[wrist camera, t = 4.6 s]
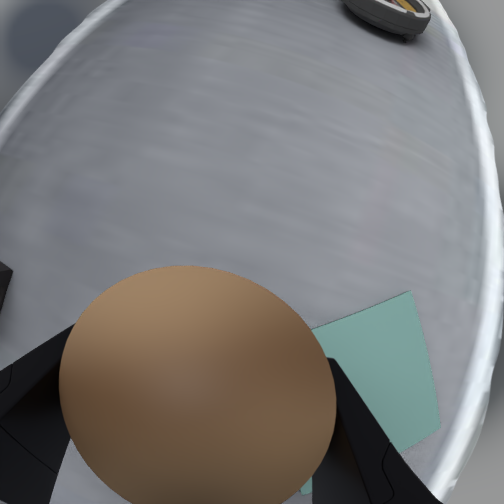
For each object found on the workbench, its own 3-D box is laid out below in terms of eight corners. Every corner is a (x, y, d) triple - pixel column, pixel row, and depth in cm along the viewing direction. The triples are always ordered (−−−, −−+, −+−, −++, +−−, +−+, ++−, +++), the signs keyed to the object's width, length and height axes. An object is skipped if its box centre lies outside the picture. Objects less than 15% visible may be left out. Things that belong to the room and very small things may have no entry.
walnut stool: (290, 406, 15) (354, 491, 5) (174, 428, 14) (107, 522, 5) (263, 291, 17) (298, 237, 7) (146, 315, 16) (40, 293, 6)
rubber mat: (437, 426, 20) (440, 427, 19) (300, 492, 18) (302, 495, 18) (407, 291, 23) (410, 290, 22) (253, 348, 21) (253, 348, 21)
